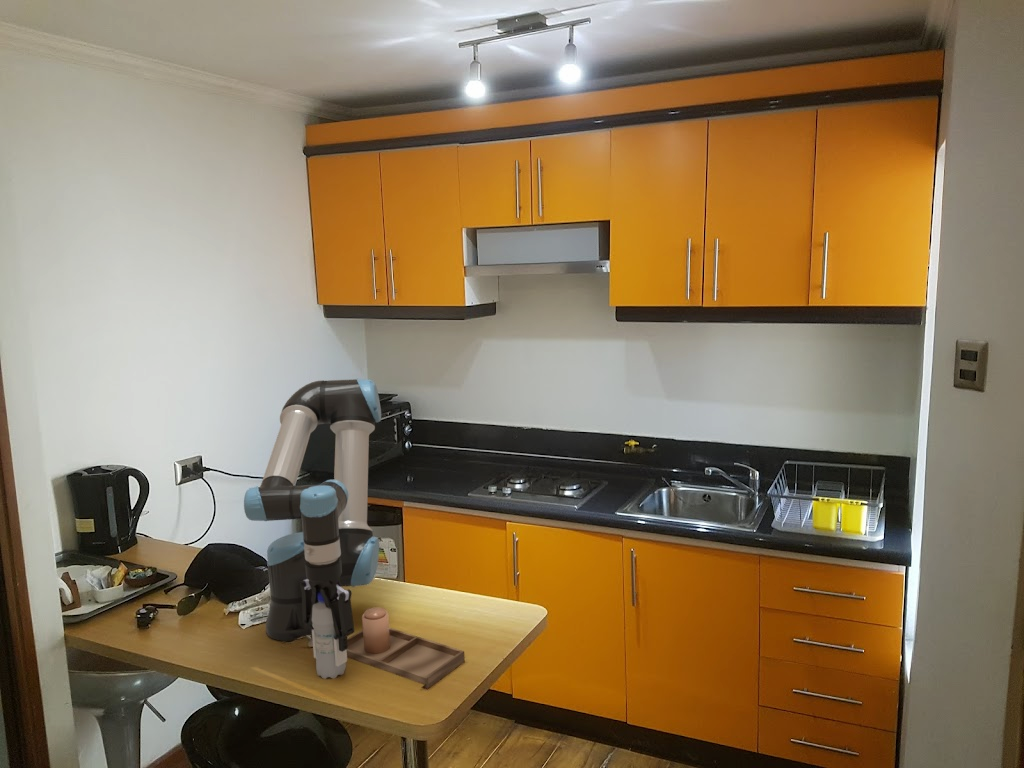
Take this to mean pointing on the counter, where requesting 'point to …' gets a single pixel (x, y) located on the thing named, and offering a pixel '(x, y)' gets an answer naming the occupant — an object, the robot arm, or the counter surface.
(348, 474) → the robot arm
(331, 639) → the bottle
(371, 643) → the jar
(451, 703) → the counter surface
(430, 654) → the caddy
